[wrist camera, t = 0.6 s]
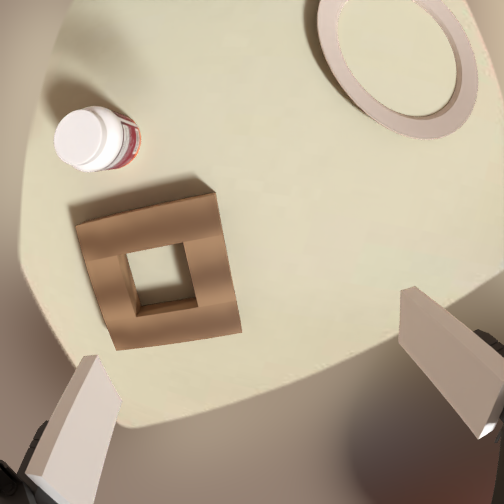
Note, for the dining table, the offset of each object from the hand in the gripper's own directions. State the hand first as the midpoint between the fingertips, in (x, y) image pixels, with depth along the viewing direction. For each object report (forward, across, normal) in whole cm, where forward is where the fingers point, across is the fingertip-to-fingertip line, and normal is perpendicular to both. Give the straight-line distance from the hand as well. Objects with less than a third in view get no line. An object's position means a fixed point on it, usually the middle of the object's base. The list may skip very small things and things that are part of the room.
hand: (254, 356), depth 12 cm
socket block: (+24, -9, -4) cm, 26 cm away
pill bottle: (+25, -11, +12) cm, 30 cm away
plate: (+26, +26, +19) cm, 41 cm away
